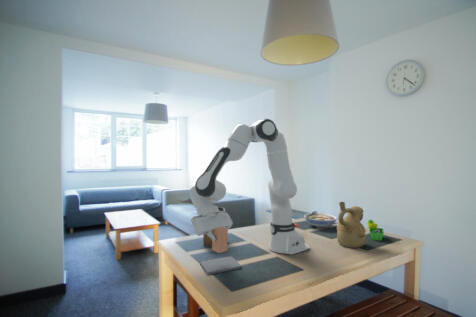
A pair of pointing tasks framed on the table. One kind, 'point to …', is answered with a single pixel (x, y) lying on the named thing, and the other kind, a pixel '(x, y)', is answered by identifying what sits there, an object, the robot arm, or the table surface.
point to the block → (220, 239)
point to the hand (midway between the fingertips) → (220, 238)
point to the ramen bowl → (320, 219)
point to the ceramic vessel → (350, 227)
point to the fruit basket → (375, 230)
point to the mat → (220, 265)
